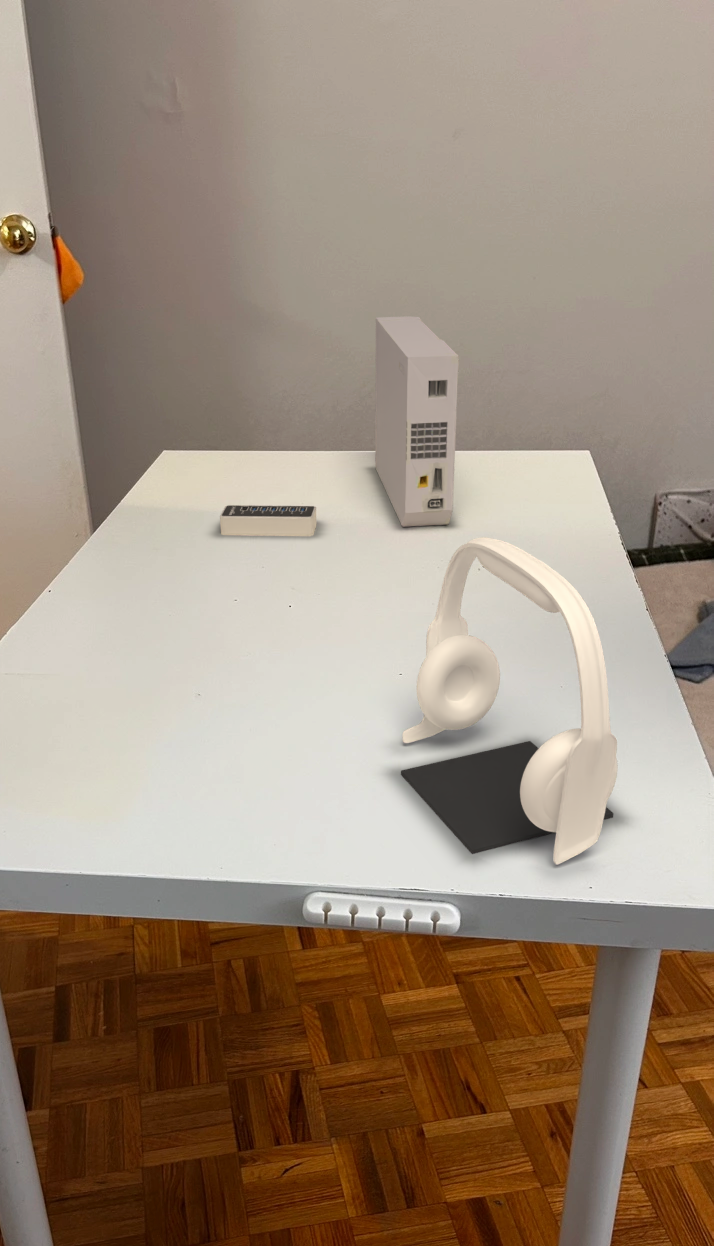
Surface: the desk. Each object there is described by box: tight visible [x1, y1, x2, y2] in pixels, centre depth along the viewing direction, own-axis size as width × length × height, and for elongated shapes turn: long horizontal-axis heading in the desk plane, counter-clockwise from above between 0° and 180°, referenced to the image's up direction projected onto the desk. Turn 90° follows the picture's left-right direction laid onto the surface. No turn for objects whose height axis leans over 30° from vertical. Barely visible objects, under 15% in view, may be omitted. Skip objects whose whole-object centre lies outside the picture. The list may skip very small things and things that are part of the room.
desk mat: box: [400, 740, 614, 855], centre depth 79 cm, size 11×11×1 cm
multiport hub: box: [219, 504, 318, 537], centre depth 131 cm, size 4×11×2 cm, turn 84°
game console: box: [374, 315, 460, 528], centre depth 136 cm, size 6×27×20 cm, turn 4°
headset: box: [401, 536, 619, 865], centre depth 75 cm, size 20×7×18 cm, turn 21°
